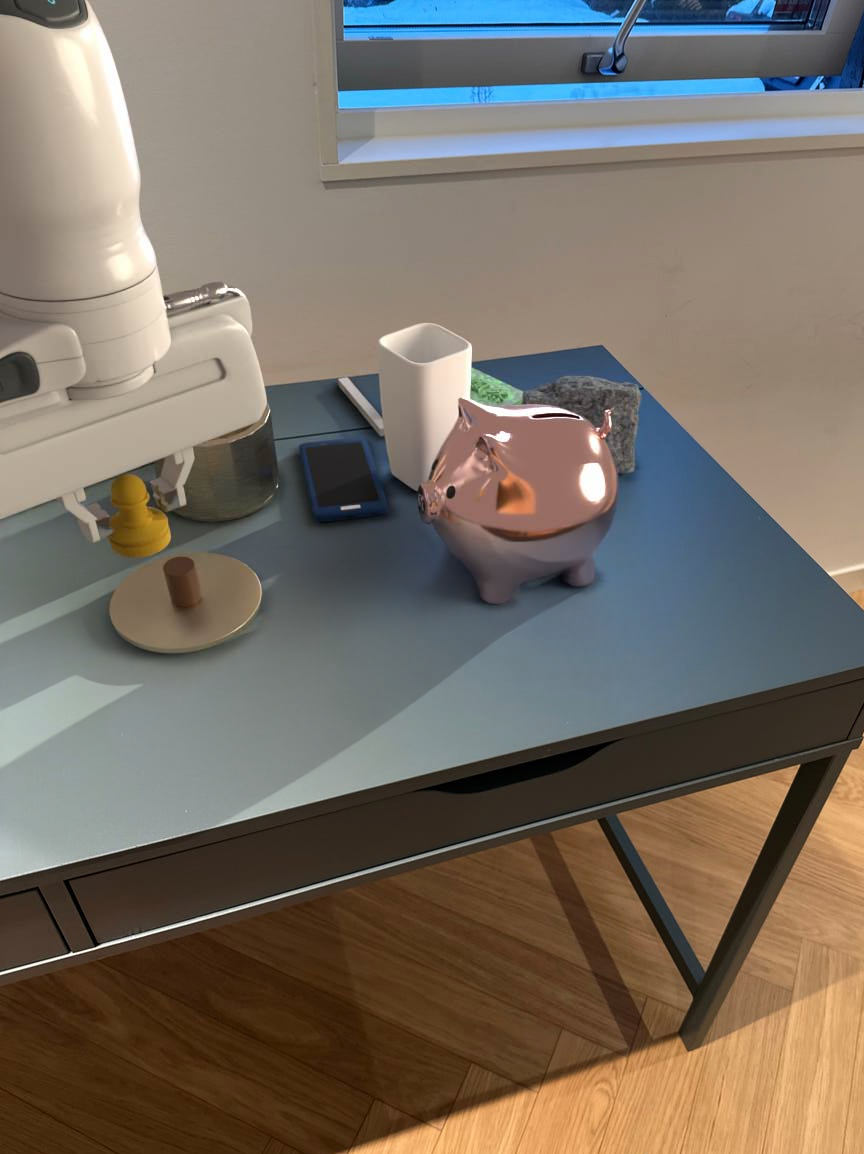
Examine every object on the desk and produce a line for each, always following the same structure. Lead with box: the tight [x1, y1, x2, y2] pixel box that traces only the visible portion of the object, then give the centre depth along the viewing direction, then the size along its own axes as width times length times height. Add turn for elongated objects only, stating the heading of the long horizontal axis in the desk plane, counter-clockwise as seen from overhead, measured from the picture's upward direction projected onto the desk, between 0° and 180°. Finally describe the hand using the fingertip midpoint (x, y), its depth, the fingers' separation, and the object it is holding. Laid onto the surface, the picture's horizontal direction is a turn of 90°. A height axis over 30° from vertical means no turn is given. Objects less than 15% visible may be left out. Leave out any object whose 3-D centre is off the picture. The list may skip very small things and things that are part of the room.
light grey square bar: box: [337, 376, 385, 437], centre depth 107 cm, size 12×1×1 cm, turn 28°
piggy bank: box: [416, 397, 621, 605], centre depth 82 cm, size 15×18×16 cm
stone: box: [521, 375, 642, 475], centre depth 97 cm, size 12×8×10 cm, turn 103°
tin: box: [152, 402, 280, 523], centre depth 92 cm, size 12×12×8 cm
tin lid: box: [109, 551, 263, 654], centre depth 80 cm, size 13×13×5 cm
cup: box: [377, 322, 473, 492], centre depth 92 cm, size 7×7×15 cm
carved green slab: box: [470, 366, 524, 406], centre depth 107 cm, size 11×12×2 cm
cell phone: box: [298, 436, 389, 523], centre depth 96 cm, size 7×14×1 cm, turn 15°
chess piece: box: [108, 473, 172, 559], centre depth 61 cm, size 4×4×5 cm
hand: (135, 520), depth 62 cm, fingers closed on chess piece, 4 cm apart
